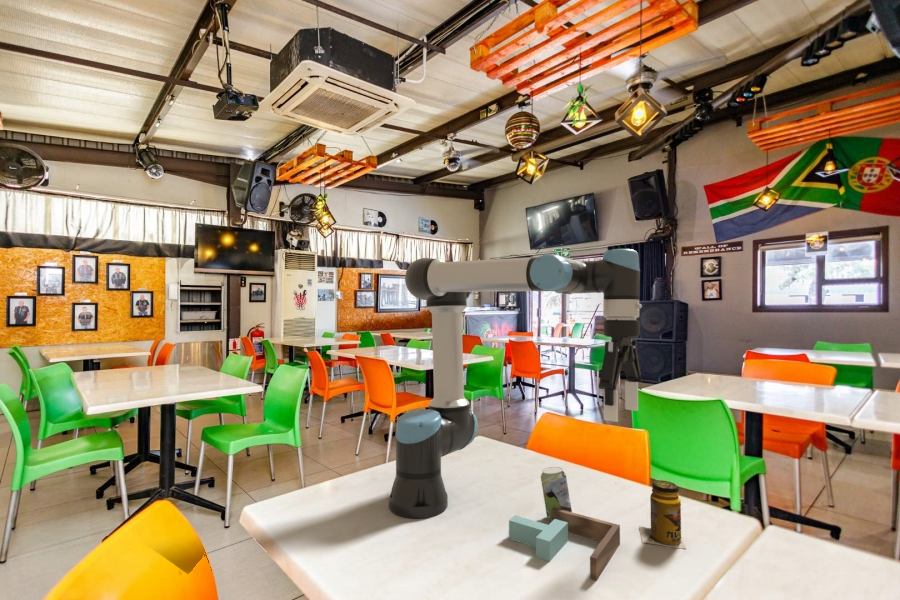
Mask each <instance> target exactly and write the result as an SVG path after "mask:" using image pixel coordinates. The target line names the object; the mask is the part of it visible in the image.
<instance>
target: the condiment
mask: <svg viewBox="0 0 900 600" xmlns="http://www.w3.org/2000/svg"><path fill="white" fill-rule="evenodd" d="M651 486H652V488H651V491H652V492H651V494H650V499H649V500H650V527H646V526H638V529H639V533H640V537H641V541H642V543H643V544H650V545H651V544H652V545H659V546H663V547H667V548H668V547H670V548H675V549H682V550H684V549H686V546H685V543H684V540H683V538H682V514H681V513H682V508H681V507H682V504H681V498H680V497H679V496H680V494H679V491H680V490H679V489H680V488H679V486H678V485H677V484H676V483H674V482H672V481H669V480H668V481H667V480H662V479H661V480H655V481H653V482H652V483H651Z"/></svg>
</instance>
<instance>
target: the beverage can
mask: <svg viewBox="0 0 900 600" xmlns="http://www.w3.org/2000/svg"><path fill="white" fill-rule="evenodd" d="M540 481H541V482H540V483H541V487H542V492H543V493H542V494H543V499H544V500H543V501H544V504H545V505H544V507H545V512H546V517H547V519H548V520H550V521H551V522H552V509H553V508H557V509H561V510H565V511H569V512H572V505H571V503H572V502H571V497H570V492H569V491H570V490H569V485H568V479H567V473H565V471H564V470H563V468H562V467H560V466H552V467H546V468H544V469H542V471H541V474H540ZM572 513H573V512H572Z"/></svg>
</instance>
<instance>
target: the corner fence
mask: <svg viewBox="0 0 900 600" xmlns="http://www.w3.org/2000/svg"><path fill="white" fill-rule="evenodd" d="M554 519H557V520H561V521H564V522H568V533H572V534H575V535H579V536H583V537H586V538H589V539H593V540H595V541H599V544H598V545H597V546H596V548H595V549H594V551H593V552H592V554H591V555H590V556H589V577H590V578H589V579H591V580H594V581H596V582H597V581H598V579H599V578H600V576H601V574H602V573H603V572H604V570H605V568H606V566H607V565H608V564H609V562H610V560H611V559H612V557H613V555H614V554H615V552H616V551H617V550H618V548H619V547H620V545H621V525H620V524H617V523H614V522H610V521H606V520H601V519H598V518H594V517H591V516H587V515H584V514H579V513H575V512H569V511H565V510H561V509H557V508H553V509H552V521H553V520H554ZM552 521H551V522H552Z"/></svg>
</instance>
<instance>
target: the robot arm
mask: <svg viewBox="0 0 900 600" xmlns="http://www.w3.org/2000/svg"><path fill="white" fill-rule="evenodd" d="M639 259H640V257H639V253H638V252H637V250H634V249H632V248H631V249H630V248H615V249H614V248H613V249H608V250H607V249H606V250H605V251H604V252H603V257H602V259H599V260H584V261H583V260H582V261H581V260H580V261H579V260H575V259H572V258H568V257H564V256H562V255H559V254H556V253H554V254H552V253H551V254H550V253H548V254H547V253H546V254H542V255H540V256H537V257H535V256H534V257H533V256H532V257H531V256H529V257H515V258H512V257H511V258H500V259H499V258H498V259H497V258H495V259H493V258H492V259H480V260H479V259H478V260H476V259H475V260H462V261H452V260H446V259H443V258H430V257H422V258H419V259H416V260H414V261H413V262H412V263H411V264H410V265H408V266H407V269H406V271H405V275H404V282H405V287H406V289H407V290H408V292H409V293H410V294H411V295H412V296H413V297H415V298H416V299H419V300H421V301H425V302H426V303H425V304H426V309H427V310H428V311H429V312H430V313H431V324H432V325H431V326H432V327H431V328H432V330H431V332H432V333H431V334H432V361H433V362H432V364H433V365H432V368H433V370H432V371H433V398H432V399H431V401H430V402H429V403H428V408H427V409H425V408H424V409H418V410H411V411H407V412H406V413H403V414H402V415H400V416H399V418H398V419H397V421H396V427H395V428H396V430H395V434H394V435H395V477H394V480H393V484H392V487H391V491H390V493H389V498H388V509H389V511H390V512H392V513H393V514H395V515H397V516H400V517H404V518H409V519H421V518H422V519H423V518H430V517H434V516H437V515H440V514H441V513H442V512H445V510H447V508H448V505H449V504H448V503H449V501H448V500H449V499H448V498H449V497H448V493H447V491H446V488H445V483H444V480H443V477H442V457H444V456H447V455H450V454H453V453H454V452H457V451H461V450H463V449H465V448H466V447H467V446H469V445H470V444H471V443H472V442H473V441H475V438H476V436H477V433H478V427H479V423H478V418H477V415H476V414H474V411H473V410H472V409H471V408H470V407H471V406H470V405H471V404H470V401H469V400H468V399H467V398H466V397H465V387H464V354H463V353H464V352H463V351H464V350H463V347H464V345H463V315H462V314H463V312H464V310H465V309H467V304H468V303H467V299H469V298H470V295H471V294H472V293H475V292H476V293H478V292H480V293H482V292H487V293H488V292H489V293H490V292H492V293H493V292H497V293H498V292H555V293H556V294H564V295H572V294H593V293H594V294H595V293H596V294H601V293H603V301H602V302H603V306H602V307H603V308H602V309H603V313H602V314H603V318H605V320H603V336H605V337H609V338H610V337H611V340H610V341H605V342H604V354H603V359H602V366H601V371H600V372H601V373H600V377H599V382H598V388H599V389H600V390H603V421H608V422H609V421H610V422H613V423H618V422H619V390H618V389H617V386H618V381H619V377H620V374H621V370H622V369H623V372H624V375H625V379H626V380H625V381H624V388H625V389H624V409H625V410H627V411H636V412H638V411H639V383H642V382H643V377H642V372H641V367H640V361H639V360H640V359H639V353H638V348H637V347H638V345H637V343H638V341H637V339H632V338H638V337H640V334H641V332H640V331H641V329H640V326H641V325H640V321H639V320H637V318H640V309H642V307H643V305H642V304H641V303H640V278H641V277H640V276H641V274H640V272H641V269H640V260H639Z"/></svg>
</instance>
